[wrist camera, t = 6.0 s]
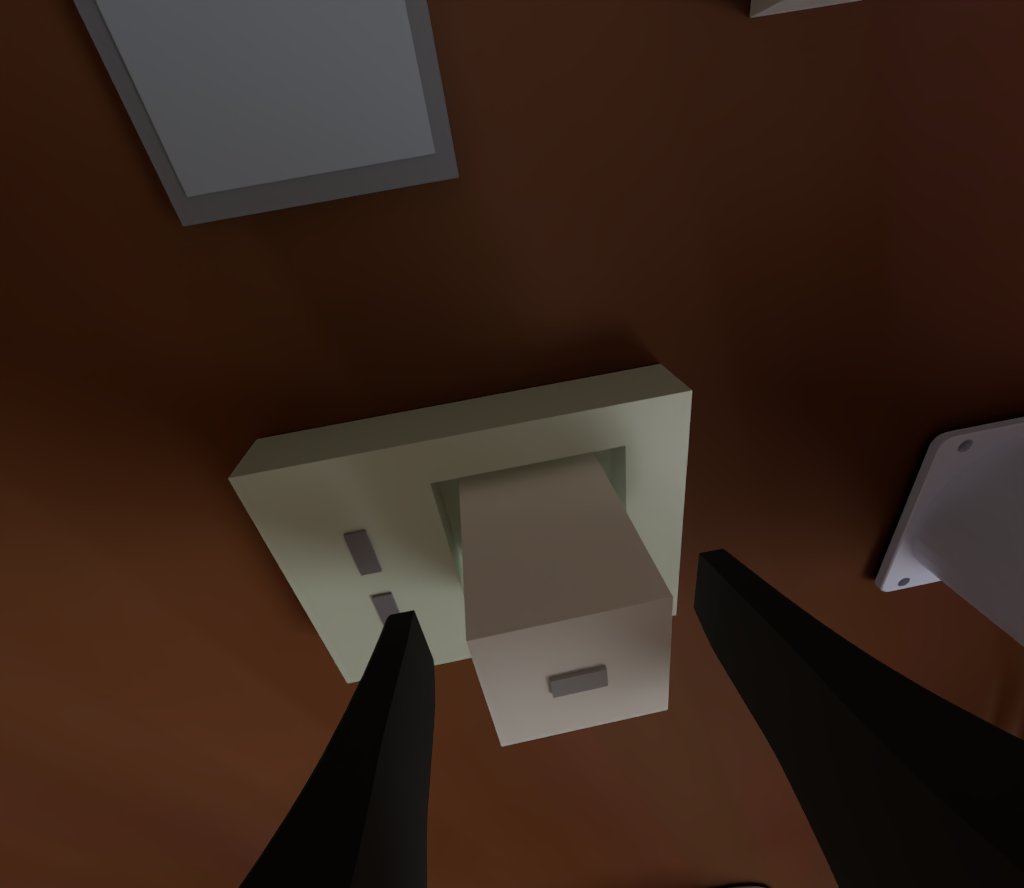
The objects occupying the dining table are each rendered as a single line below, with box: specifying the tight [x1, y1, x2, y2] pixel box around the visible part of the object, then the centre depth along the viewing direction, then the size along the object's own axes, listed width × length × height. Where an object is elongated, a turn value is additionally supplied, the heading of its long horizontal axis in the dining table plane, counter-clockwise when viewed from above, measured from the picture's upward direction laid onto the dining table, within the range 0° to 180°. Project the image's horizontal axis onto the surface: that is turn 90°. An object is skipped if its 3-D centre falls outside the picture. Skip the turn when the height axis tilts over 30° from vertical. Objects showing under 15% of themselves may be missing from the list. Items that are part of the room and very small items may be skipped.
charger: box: [459, 452, 673, 746], centre depth 12 cm, size 4×4×6 cm
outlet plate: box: [228, 364, 692, 683], centre depth 14 cm, size 12×9×2 cm
